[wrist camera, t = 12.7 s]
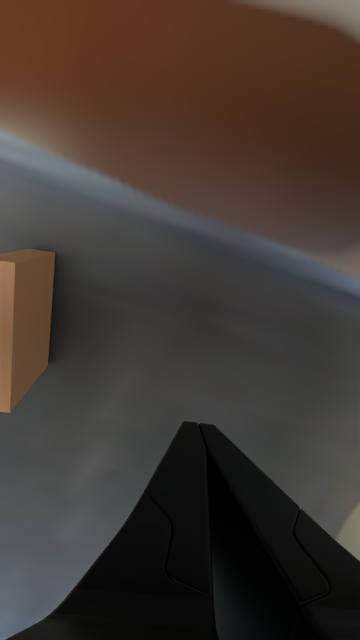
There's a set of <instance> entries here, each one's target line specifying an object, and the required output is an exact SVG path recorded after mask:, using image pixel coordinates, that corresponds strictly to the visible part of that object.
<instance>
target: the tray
mask: <svg viewBox="0 0 360 640" xmlns="http://www.w3.org/2000/svg"><path fill="white" fill-rule="evenodd" d="M54 267H55V252H50V251H43V250H37V249H31V248H29V249H23V250H18V251H12V252H7V253H1V254H0V412H8V413H10V412H11V411H12V410H13V408H14V407H15V406H16V405H17V404H18V402H19V401H20V400H21V399H22V397H23V396H24V395H25V394H26V393H27V391H28V390H29V389H30V388H31V386H32V385H33V384H34V383H35V382H36V380H37V379H38V378H39V377H40V375H41V374H42V373H43V372H44V371H45V369H46V368H47V367H48V357H49V342H50V327H51V312H52V297H53V282H54Z"/></svg>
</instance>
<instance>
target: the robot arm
mask: <svg viewBox="0 0 360 640" xmlns="http://www.w3.org/2000/svg"><path fill="white" fill-rule="evenodd" d="M6 640H360V561H359V560H357V559H356V558H355V557H354V556H353V555H352V554H351V553H349V552H348V551H347V550H346V549H345V548H343V547H342V546H341V545H340V544H339V543H338V542H337V541H335V540H334V539H333V538H332V537H331V536H330V535H329V534H328V533H327V532H326V531H325V530H323V529H322V528H321V527H320V526H319V525H318V524H317V523H316V522H315V521H314V520H313V519H312V518H311V517H310V516H308V515H307V514H306V513H305V512H304V511H303V510H302V509H300V507H299V506H298V505H297V504H296V503H295V502H294V501H293V500H292V499H291V498H290V497H289V496H288V495H286V494H285V493H284V492H283V491H282V490H281V489H280V488H279V487H278V486H277V485H276V484H275V483H274V482H273V481H272V480H271V479H270V478H269V477H268V476H267V475H266V474H265V473H264V472H262V471H261V470H260V469H259V468H258V467H257V466H256V465H255V464H254V463H253V462H252V461H251V460H250V459H249V458H248V457H247V456H246V455H245V454H244V453H243V452H242V451H241V450H240V449H239V448H237V447H236V446H235V445H234V444H233V443H232V442H231V441H230V440H229V439H228V438H227V437H226V436H225V435H224V434H223V433H222V432H221V431H220V430H219V429H218V428H217V427H216V426H214V425H212V424H203V423H200V424H199V425H198V423H195V422H187V421H184V422H183V423H182V424H181V426H180V428H179V430H178V431H177V433H176V435H175V437H174V439H173V440H172V442H171V444H170V446H169V448H168V449H167V451H166V453H165V455H164V456H163V458H162V460H161V462H160V464H159V465H158V467H157V469H156V471H155V473H154V474H153V476H152V478H151V480H150V482H149V483H148V485H147V487H146V489H145V490H144V493H143V494H142V495H141V497H140V499H139V501H138V503H137V504H136V506H135V508H134V509H133V511H132V512H131V514H130V516H129V517H128V519H127V521H126V522H125V523H124V525H123V526H122V527H121V529H120V530H119V532H118V533H117V534H116V536H115V537H114V538H113V540H112V541H111V542H110V544H109V545H108V546H107V547H106V549H105V550H104V551H103V552H102V554H101V555H100V556H99V557H98V559H97V560H96V561H95V562H94V564H93V565H92V566H91V567H90V569H89V570H88V571H87V572H86V574H85V575H84V576H83V577H82V579H81V580H80V581H79V582H78V584H77V585H76V586H75V587H74V589H73V590H72V591H71V592H70V594H69V595H68V596H67V597H66V598H65V600H64V601H63V602H62V603H61V604H60V605H59V606H58V607H57V608H56V609H55V610H54V611H53V612H52V613H51V614H49V615H48V616H47V617H46V618H44V619H43V620H42V621H40V622H38V623H36V624H34V625H33V626H31V627H29V628H27V629H25V630H23V631H21V632H19V633H17V634H15V635H13V636H12V637H10V638H8V639H6Z"/></svg>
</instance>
